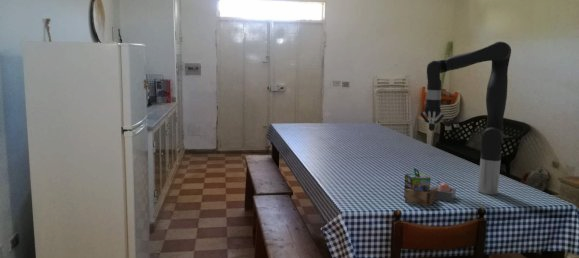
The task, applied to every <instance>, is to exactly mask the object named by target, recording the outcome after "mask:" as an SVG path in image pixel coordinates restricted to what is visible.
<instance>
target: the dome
mask: <svg viewBox="0 0 579 258" xmlns="http://www.w3.org/2000/svg"><path fill="white" fill-rule="evenodd" d="M437 186H438V190H439V191H446V192H450V188H451V187H450V186H449V184H447V183H446V182H444V183H443V182H442V183H440V185H437Z"/></svg>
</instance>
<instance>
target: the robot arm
mask: <svg viewBox="0 0 579 258" xmlns="http://www.w3.org/2000/svg"><path fill="white" fill-rule="evenodd" d="M511 54H512V48H511V45H509V43H506V42H504V41H496V42H494V43H492V44H489V45H487V46H485V47H483V48H479V49H477V50H473V51H469V52H464V53H461V54H456V55H453V56H449V57H447V58H444V59H440V60H439V59H438V60H431V61H430V62H428V64H427V65H426V78H427V84H426V94H425V95H426V96H425V109H424V111H422V112H420V117H421V118H422V119H423V120H424V122H425V123H426V124H427V123H428V130H429V131H430V132H433V131H434V130H435V129H436V124H438V123H440V121H442V120H443V118H444V117H446V115H445V113H443V112H442V109H441V105H442V80H441V74H444V73H445V72H446V73H447V72H449V71H454V70H459V69H463V68H467V67H469V66H472V65H475V64H480V63H483V62H490V61H491V71H490V75H489V79H488V82H487V86H486V95H485V104H486V114H487V116H486V117H487V119H486V125H485V129H484V131H483V132H482V134H481V138H480V140H481V141H480V160H479V173H478V183H477V192H479V193H481V194H485V195H498V193H499V188H500V187H499V186H500V185H499V184H500V170H501V161H502V152H501V150H502V142H503V139H504V135H505V134H504V115H505V111H506V105H507V98H508V83H509V82H508V80H509V79H508V69H509V63H510V59H511ZM438 116H439V117H438ZM437 117H438V118H437Z"/></svg>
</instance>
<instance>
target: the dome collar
mask: <svg viewBox="0 0 579 258" xmlns="http://www.w3.org/2000/svg"><path fill="white" fill-rule="evenodd" d="M438 186H439V185H436V186H435V187H434V188H436V195H435V200H439V201H445V200H446V201H447V202H451V201H452V202H453V201H454V199H455V198H456V192H457V191H456V188H453V187H450V192H446V191H439V190H438ZM454 197H455V198H454Z"/></svg>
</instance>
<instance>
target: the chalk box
mask: <svg viewBox="0 0 579 258" xmlns="http://www.w3.org/2000/svg"><path fill="white" fill-rule="evenodd" d="M419 171H420V170H419V169H417V168H415V167H413V172H414V173H405V174H404V190H403V197H404V198H405V191H406V189H411V190H417V191H424V192H429V191H430V190H431V179H432V178H431V177H430V176H427V174H424V173H420V172H419Z"/></svg>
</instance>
